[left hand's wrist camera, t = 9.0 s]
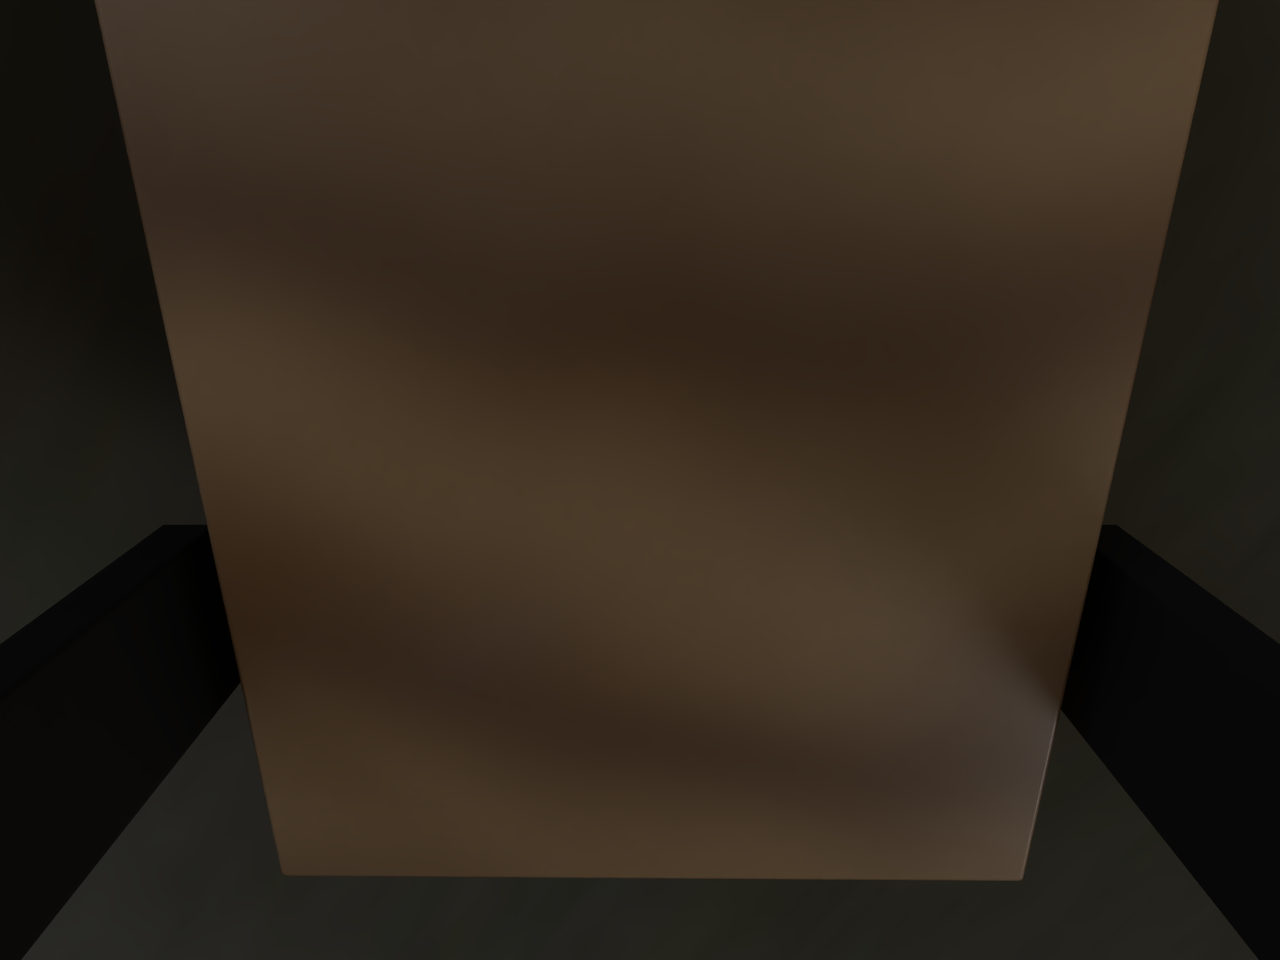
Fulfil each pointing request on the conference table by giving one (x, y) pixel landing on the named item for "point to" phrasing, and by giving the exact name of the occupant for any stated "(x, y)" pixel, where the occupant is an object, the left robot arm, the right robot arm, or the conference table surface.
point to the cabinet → (655, 408)
